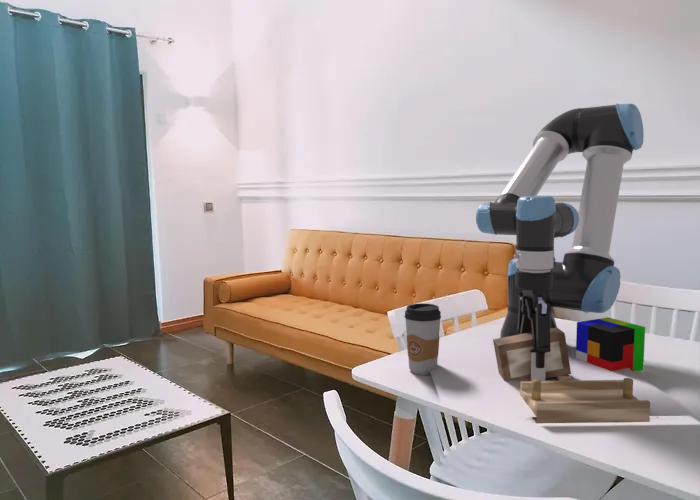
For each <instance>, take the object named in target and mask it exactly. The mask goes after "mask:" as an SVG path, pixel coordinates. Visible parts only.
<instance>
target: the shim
mask: <svg viewBox="0 0 700 500" xmlns="http://www.w3.org/2000/svg"><path fill="white" fill-rule="evenodd" d="M555 379H556V380H557V381H572V376H571V375H570V374H568V375H562V376H557V377H555Z"/></svg>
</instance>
